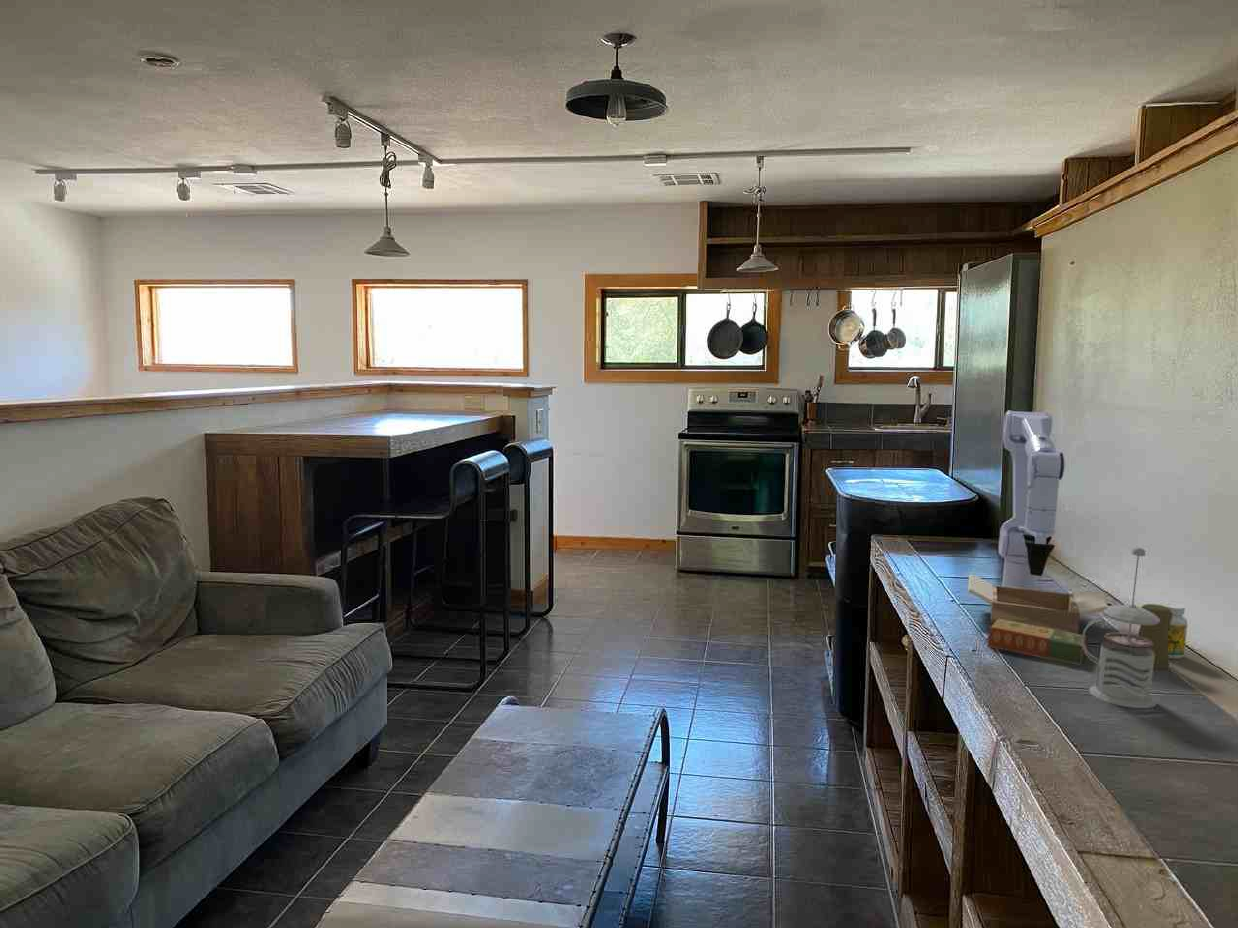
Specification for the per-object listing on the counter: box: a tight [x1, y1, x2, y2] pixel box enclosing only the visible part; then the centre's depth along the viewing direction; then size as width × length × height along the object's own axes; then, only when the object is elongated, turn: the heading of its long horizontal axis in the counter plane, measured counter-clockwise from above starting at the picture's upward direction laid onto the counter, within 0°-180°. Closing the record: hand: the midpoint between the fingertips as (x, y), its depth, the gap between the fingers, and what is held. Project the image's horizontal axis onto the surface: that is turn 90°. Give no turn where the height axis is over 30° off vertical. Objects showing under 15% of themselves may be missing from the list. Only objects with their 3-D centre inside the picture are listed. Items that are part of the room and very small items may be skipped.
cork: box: [1132, 603, 1172, 671], centre depth 165 cm, size 6×6×11 cm
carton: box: [987, 619, 1088, 666], centre depth 171 cm, size 8×16×4 cm, turn 57°
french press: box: [1081, 547, 1160, 709], centre depth 148 cm, size 10×12×25 cm
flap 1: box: [967, 573, 994, 605], centre depth 193 cm, size 15×5×1 cm, turn 158°
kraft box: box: [989, 584, 1081, 634], centre depth 190 cm, size 16×16×5 cm
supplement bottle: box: [1159, 602, 1188, 660], centre depth 171 cm, size 5×5×10 cm
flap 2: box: [1073, 588, 1109, 617], centre depth 185 cm, size 15×5×1 cm, turn 158°
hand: (1035, 571), depth 192 cm, fingers open, 7 cm apart
